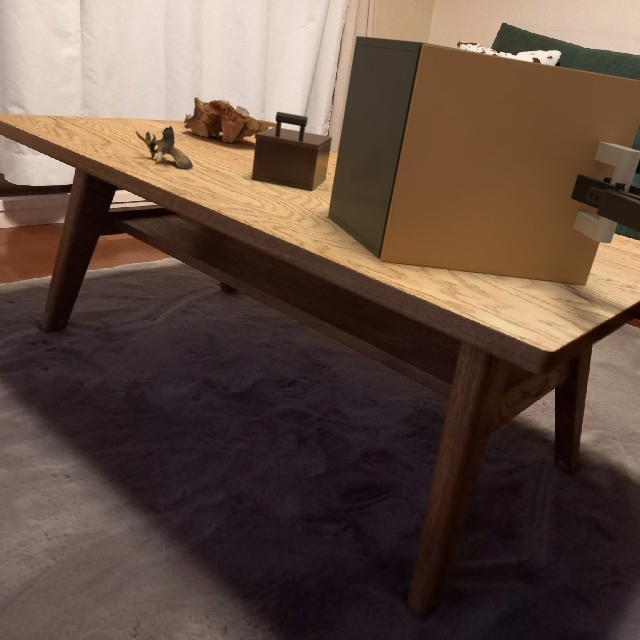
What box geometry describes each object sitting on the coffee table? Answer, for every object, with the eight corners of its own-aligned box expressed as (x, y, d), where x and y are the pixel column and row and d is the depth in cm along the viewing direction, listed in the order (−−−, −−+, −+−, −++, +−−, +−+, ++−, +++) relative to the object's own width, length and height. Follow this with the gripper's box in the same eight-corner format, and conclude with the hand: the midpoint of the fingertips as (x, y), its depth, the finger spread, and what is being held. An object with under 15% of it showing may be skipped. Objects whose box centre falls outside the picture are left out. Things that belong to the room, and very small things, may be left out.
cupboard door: (610, 303, 73) (687, 86, 64) (391, 278, 70) (439, 44, 60) (582, 282, 80) (648, 82, 71) (379, 258, 76) (422, 43, 67)
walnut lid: (317, 150, 103) (321, 120, 102) (254, 138, 105) (257, 109, 103) (331, 141, 116) (335, 115, 114) (275, 131, 117) (278, 105, 115)
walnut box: (312, 191, 107) (318, 149, 104) (251, 179, 108) (255, 138, 105) (325, 179, 118) (331, 141, 116) (270, 168, 119) (274, 131, 117)
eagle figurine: (127, 152, 107) (167, 153, 102) (140, 115, 108) (181, 114, 104) (156, 175, 113) (195, 176, 109) (169, 139, 115) (208, 139, 110)
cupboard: (553, 266, 85) (611, 76, 76) (377, 259, 76) (420, 42, 67) (480, 227, 101) (522, 65, 91) (327, 217, 91) (356, 35, 82)
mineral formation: (283, 148, 137) (291, 104, 137) (218, 121, 126) (227, 73, 127) (227, 160, 154) (235, 121, 155) (167, 137, 144) (175, 95, 144)
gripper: (693, 296, 51) (521, 215, 71) (828, 300, 56) (633, 224, 76) (731, 204, 48) (540, 147, 68) (869, 217, 53) (655, 161, 73)
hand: (590, 188), depth 72 cm, fingers open, 3 cm apart
